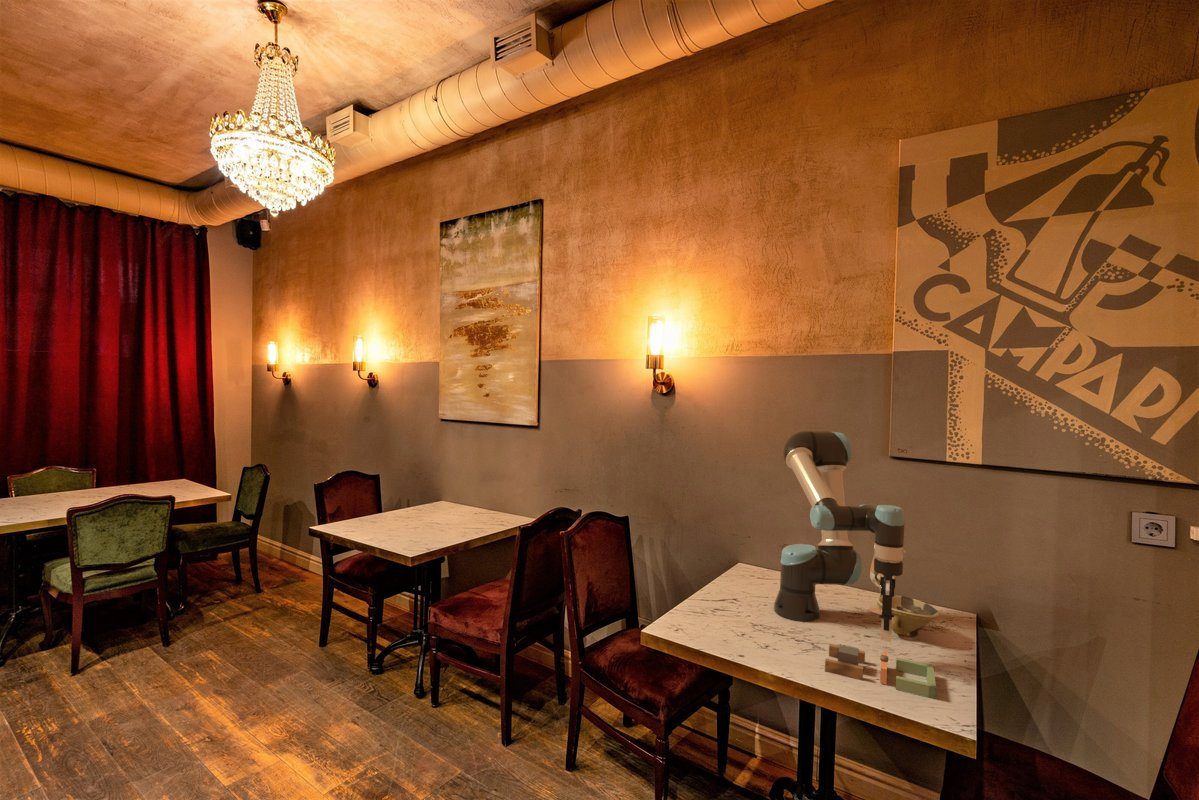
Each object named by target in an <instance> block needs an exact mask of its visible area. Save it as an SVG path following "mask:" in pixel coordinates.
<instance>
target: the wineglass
mask: <svg viewBox="0 0 1199 800" xmlns="http://www.w3.org/2000/svg"><path fill="white" fill-rule="evenodd" d="M875 558H876V557H875V556H874V555H873V557H872V560H871V565H870V567H869V569H870V570H869V578H870V580H871V582H872V584H873V585H875V586H876V587H878V588H879V597H881V596H882V595H881V585H880V578H881V577H884V575H883V574H879V573H877V572H876V571H875V570H874V559H875ZM892 578H893V579H895V576H892ZM868 610H869V612H871V613H872V614H876V615H878V616H879V615H882V609H881V608H880V607H879V606H870V607H868Z"/></svg>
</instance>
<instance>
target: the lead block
mask: <svg viewBox="0 0 1199 800" xmlns="http://www.w3.org/2000/svg"><path fill="white" fill-rule="evenodd" d="M838 646H839V651H838V658H837V661H840V662H844V663H848V664H853V665H857V666H859V663H858V660H859V651H860V649H859V648H857V647H854V646H848V645H844V644H840V645H838Z"/></svg>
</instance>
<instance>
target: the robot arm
mask: <svg viewBox="0 0 1199 800" xmlns="http://www.w3.org/2000/svg"><path fill="white" fill-rule="evenodd" d="M852 456H853V449H852V444H851V441H850V439H849V438H848V437H847V435H845V434H844V433H843V432H836V431H832V430H831V431H811V430H801V431H798V432H795V433H793V434H792V435H790V436H789V437H788V439H786V440H785V444H784V445H783V449H782V457H783V459H784V462H785V464H786V465H787V467H788V468H789V469H791V470H792V472H793V473H794V474H795V476H796V479H797V481H798V483H799V484H800V486H801V488H802V491H803V492H804V494H805V496H806V498H807V500H808V502H809V504H810V505H811V508H810V512H809V519H810V523H811V526H812V527H813V528H814V529H815V530H820V532H821V541H820V542H819V543H818V544H817V547H816V546H814V545H812V544H804V543H796V544H795V543H793V544H789V545H787V546H785V547H784V548H783V549H782V550H781V555H780V556H781V557H780V574H779V575H780V579H779V580H780V581H779V582H780V584H779V590H778V593H777V595H776V598H775V601H774V604H773V611H774V613H775V614H777V615H778V616H780V617H782V618H785V619H789V620H791V621H798V622H813V621H817V620H818V619H819V618H820V615H821V614H820V613H821V610H820V606H819V603H818V600H817V595H816V586H817V585H830V586H831V585H832V586H833V585H836V586H846V585H847V586H848V585H850V586H851V585H854V584H856V583H857V582H858V581H859V579H860V577H861V575H862V570H863V562H862V560H863V559H862V558H861V554H860V552H858V551H857V550H854V544H853V543H851V542H850V541H849V537H848V532H870V533H872V534H874V544H873V545H874V551H873V552H874V553H873V557H874V556H875V557H876V558H875V559H874V570H875V571H876V572H877V573H879V574H883V575H884V577H881V578H880V585H881V595H882V596H883V600H882V615H879V614H878V619H879V618H880V619H881V622H880V623H881V627H880V641H884V642H889V643H891V642H892V632H893V630H892V617H894V615H893V614H892V597H893V596H894V595H895V588H896V578H894V579H893V578H892V576H894V577H900V576H902V575H903V574H904V562H903V560H904V554H906V553H907V551H906V550H905V549H904V543H905V525H906V524H905V522H906V520H905V510H904V509H903V508H902V507H900V506H896V505H891V504H890V505H889V504H878V505H877V506H873V505H871V504H860V505H858V506H856V505H855V506H853V505H846V503H845V502H846V501H845V500H846V499H845V489H844V478H843V477H844V475H843V472H844V471H846V469H847V464H849V463H850V462H851V460H852Z"/></svg>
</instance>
